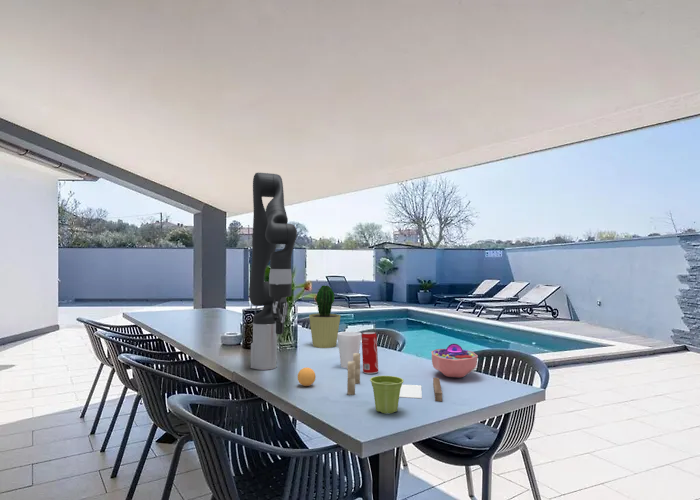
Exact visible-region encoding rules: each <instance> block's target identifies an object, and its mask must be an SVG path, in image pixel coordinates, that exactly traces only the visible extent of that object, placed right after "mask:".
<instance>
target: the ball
mask: <svg viewBox="0 0 700 500" xmlns="http://www.w3.org/2000/svg"><path fill="white" fill-rule="evenodd" d="M316 376H317V375H316V373H315V371H314V369H312V368H310V367H302V368H301V369H299V371H298V373H297V381H298V383H299V384H300V385H301V386H303V387H308V386H311V385H313V384H314V382H315V380H316Z"/></svg>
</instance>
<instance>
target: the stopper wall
mask: <svg viewBox="0 0 700 500" xmlns="http://www.w3.org/2000/svg"><path fill="white" fill-rule="evenodd" d="M432 385H433V387H432V388H433V392H434V393H433V394H434V401H435V402H443V391H442V385H441V381H440V377H433V378H432Z"/></svg>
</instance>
